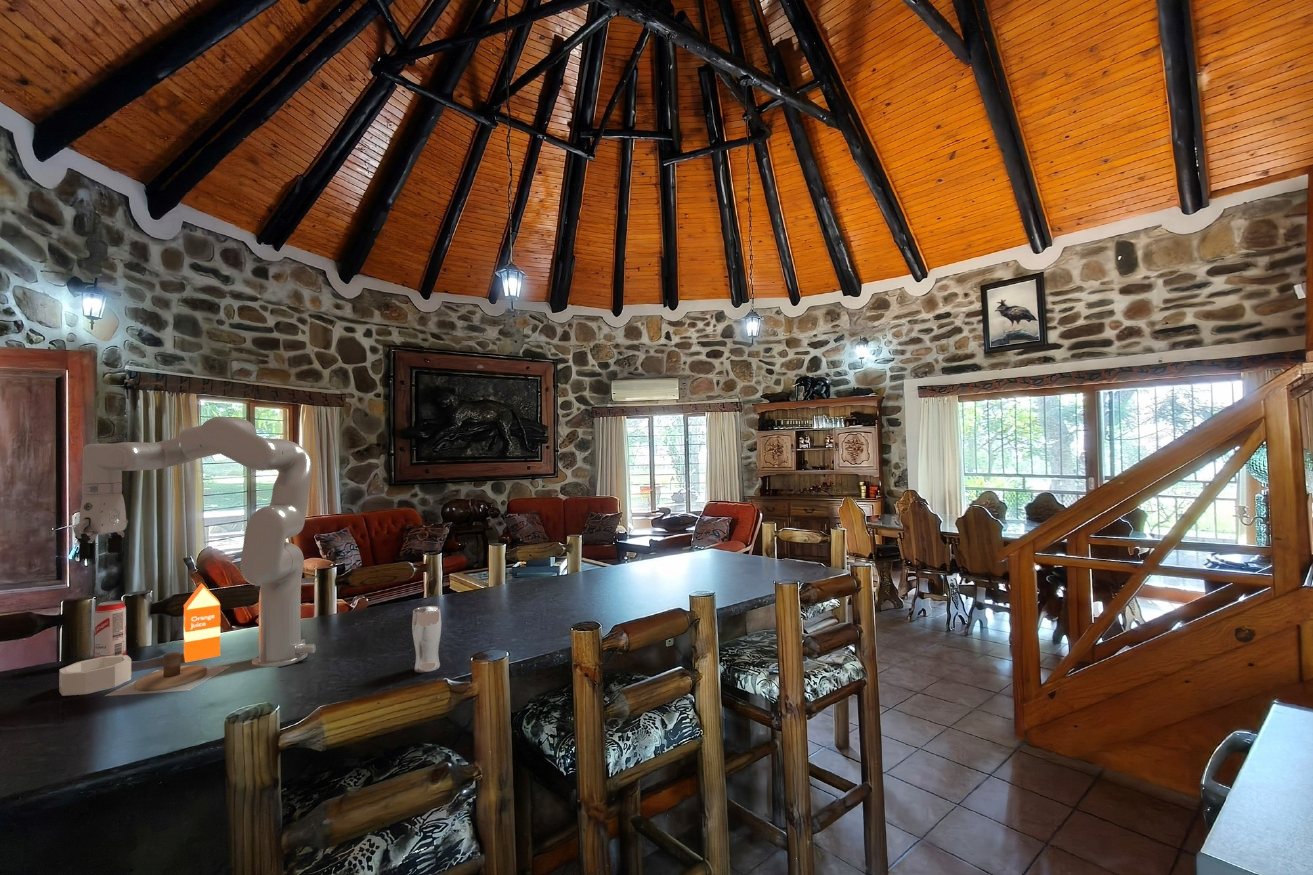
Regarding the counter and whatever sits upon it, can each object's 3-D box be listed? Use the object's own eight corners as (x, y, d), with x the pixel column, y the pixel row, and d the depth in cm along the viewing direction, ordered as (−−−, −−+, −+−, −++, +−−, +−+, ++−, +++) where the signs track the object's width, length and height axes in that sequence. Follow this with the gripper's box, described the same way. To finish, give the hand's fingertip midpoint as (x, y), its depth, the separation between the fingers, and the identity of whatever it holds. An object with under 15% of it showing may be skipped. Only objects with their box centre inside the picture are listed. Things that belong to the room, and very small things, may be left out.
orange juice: (184, 664, 154) (184, 589, 155) (183, 656, 161) (183, 584, 162) (221, 657, 160) (221, 584, 160) (218, 650, 166) (218, 580, 167)
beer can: (106, 665, 155) (106, 605, 155) (88, 664, 156) (88, 605, 157) (131, 657, 161) (132, 600, 162) (114, 656, 162) (114, 599, 163)
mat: (231, 668, 151) (231, 665, 151) (188, 693, 135) (188, 690, 135) (156, 672, 149) (156, 670, 149) (104, 698, 133) (104, 695, 133)
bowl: (142, 676, 147) (142, 654, 147) (102, 695, 135) (102, 671, 135) (90, 679, 145) (90, 657, 146) (45, 698, 133) (45, 674, 134)
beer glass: (447, 665, 149) (447, 607, 150) (426, 674, 143) (426, 614, 144) (427, 661, 152) (427, 604, 153) (406, 671, 146) (405, 611, 146)
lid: (219, 668, 150) (219, 644, 150) (182, 689, 136) (182, 662, 136) (162, 671, 148) (162, 647, 148) (119, 692, 134) (119, 666, 135)
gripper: (93, 491, 144) (93, 560, 144) (141, 488, 161) (141, 549, 161) (58, 492, 143) (57, 562, 142) (110, 489, 160) (109, 551, 159)
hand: (101, 555), depth 151 cm, fingers open, 9 cm apart
